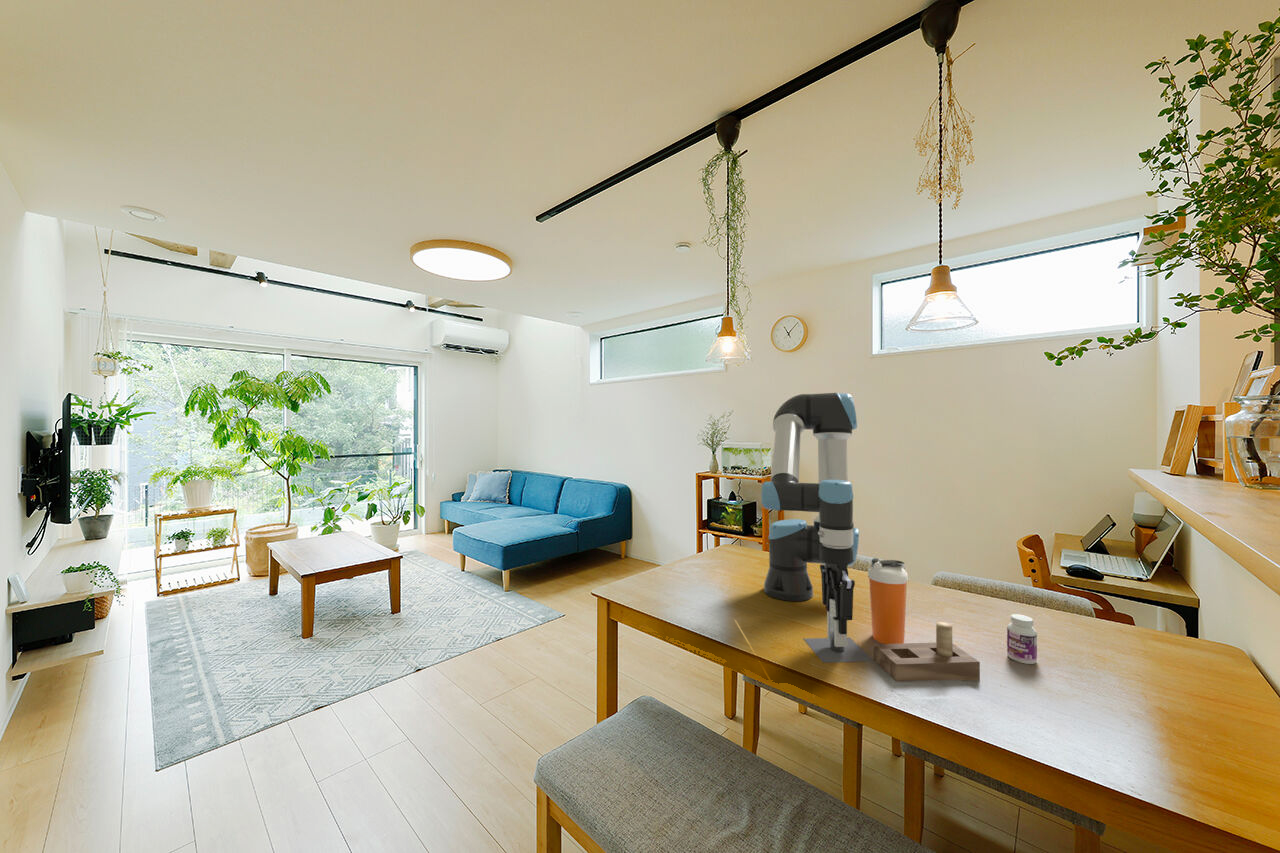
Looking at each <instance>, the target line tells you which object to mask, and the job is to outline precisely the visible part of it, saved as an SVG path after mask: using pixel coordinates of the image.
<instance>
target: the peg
mask: <svg viewBox="0 0 1280 853" xmlns="http://www.w3.org/2000/svg"><path fill="white" fill-rule="evenodd" d="M833 617H836V608H835V597H831V598H830V649H831V650H832V651H834V652H839V653H841V652H844V647H836V646H835V644H834V619H833Z"/></svg>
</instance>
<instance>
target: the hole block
mask: <svg viewBox="0 0 1280 853" xmlns="http://www.w3.org/2000/svg"><path fill="white" fill-rule="evenodd" d="M952 645H953V657H941V656H939V655H938V654H937V653H936V642H904V643H902V644H883V643H874V644H873V660H874V661H873V662H875V663H877V665H879V667H881V669H882V670H884V671H885V672H886V673H887V674H888V675H889V676H890V677H891V678H892V679H893V680H894V681H895V682H897V683H899V682H921V681H922V682H926V681H927V682H928V681H929V682H931V681H954V680H955V681H956V680H957V681H958V680H959V681H960V680H962V681H963V682H972V681H973V682H975V681H977V682H979V681H980V680H981V669H980V668H981V666H980V664H981V663H980V661H979V660H978V659H977V658H976V657H974V656H971V655H970V654H969V653H967V652H966V651H964V650H963V649H961V648H960V647H959V646H957V645H955V644H953V643H952Z"/></svg>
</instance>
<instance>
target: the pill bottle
mask: <svg viewBox="0 0 1280 853" xmlns="http://www.w3.org/2000/svg"><path fill="white" fill-rule="evenodd" d="M1033 626H1034V618H1032V617H1029V616H1027V615H1023V614H1019V613H1018V614H1017V613H1013V614H1010V623H1008V624H1007V627H1006V629H1007V630H1006V635H1007V636H1006V653H1007V656H1008V657H1009V658H1010V659H1012V660H1013V661H1016V662H1017V663H1022V664H1026V665H1033V664H1036V663H1037V661H1038V654H1037V653H1038V632H1037V630H1036V628H1034V627H1033Z"/></svg>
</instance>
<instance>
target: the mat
mask: <svg viewBox="0 0 1280 853" xmlns="http://www.w3.org/2000/svg"><path fill="white" fill-rule="evenodd" d="M803 641H804V642H805V643H806V644H807V645H808V646H809V648H810V649H811V650H812V651H813V652H814V654H815V655H816V656H817V657H818V659H819V660H820V661H821V663H823V664H826V663H827V664H829V663H830V664H831V663H861V662H863V663H864V662H875V661H874V658H873V657H871V656H870V654H868V653H867V652H866V651H865V650H864V649H863V648H862V647H861V646H860V645H858V644H857V643H856V642H855V641H854V640H853V639H852V638H851V637H849V636H847V647H844V652H841V653H839V652H834V651H832V650H831V649H830V639H828V638H827V637H818V638H817V637H815V638H813V637H812V638H811V637H810V638H803Z"/></svg>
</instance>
